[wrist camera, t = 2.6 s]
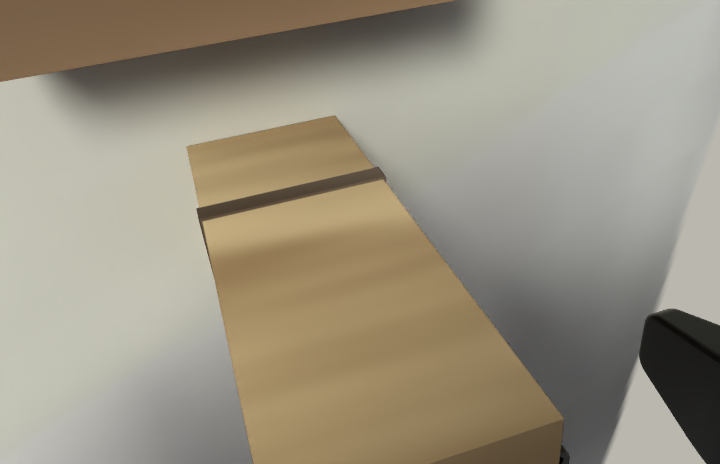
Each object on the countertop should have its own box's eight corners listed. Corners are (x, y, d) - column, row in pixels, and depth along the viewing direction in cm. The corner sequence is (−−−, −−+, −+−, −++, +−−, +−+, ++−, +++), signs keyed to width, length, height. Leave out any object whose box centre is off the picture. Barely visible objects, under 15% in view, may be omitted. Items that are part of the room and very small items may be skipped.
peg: (351, 239, 16) (548, 584, 9) (217, 273, 15) (306, 678, 8) (336, 112, 14) (568, 414, 7) (183, 144, 13) (259, 516, 6)
